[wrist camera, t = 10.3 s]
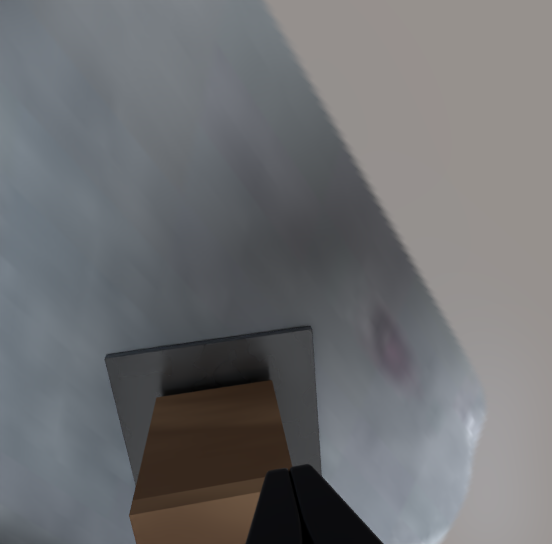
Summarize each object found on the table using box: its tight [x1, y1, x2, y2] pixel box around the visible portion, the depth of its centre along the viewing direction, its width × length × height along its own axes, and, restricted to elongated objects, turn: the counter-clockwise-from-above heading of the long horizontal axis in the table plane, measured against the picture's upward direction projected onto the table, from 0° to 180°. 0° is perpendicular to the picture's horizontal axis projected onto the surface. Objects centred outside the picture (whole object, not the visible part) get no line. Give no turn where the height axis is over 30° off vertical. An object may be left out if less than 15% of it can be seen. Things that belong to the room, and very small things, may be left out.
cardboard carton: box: [129, 380, 292, 544], centre depth 18 cm, size 6×6×7 cm
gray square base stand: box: [105, 326, 322, 485], centre depth 19 cm, size 10×10×7 cm
